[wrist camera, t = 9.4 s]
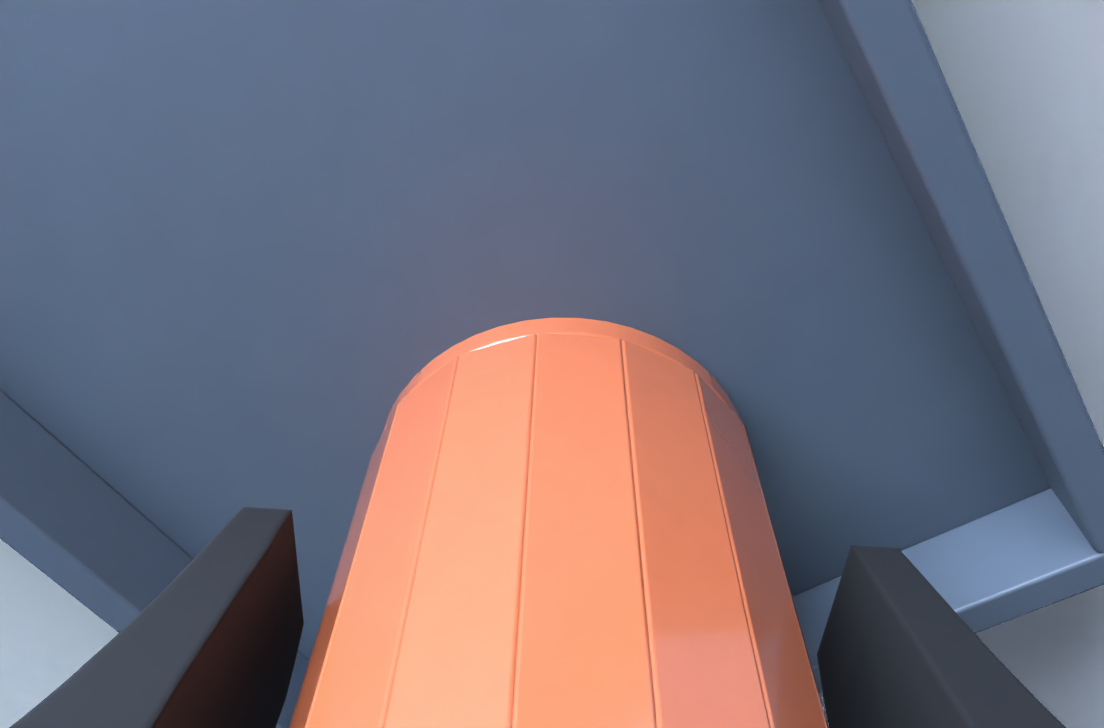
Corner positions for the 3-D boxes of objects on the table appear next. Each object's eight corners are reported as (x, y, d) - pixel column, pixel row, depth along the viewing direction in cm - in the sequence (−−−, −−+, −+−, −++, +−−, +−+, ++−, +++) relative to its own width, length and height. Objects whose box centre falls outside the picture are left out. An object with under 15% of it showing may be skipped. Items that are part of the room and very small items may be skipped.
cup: (784, 329, 13) (977, 812, 7) (718, 620, 15) (810, 1137, 9) (371, 302, 12) (186, 767, 6) (383, 599, 15) (263, 1110, 9)
